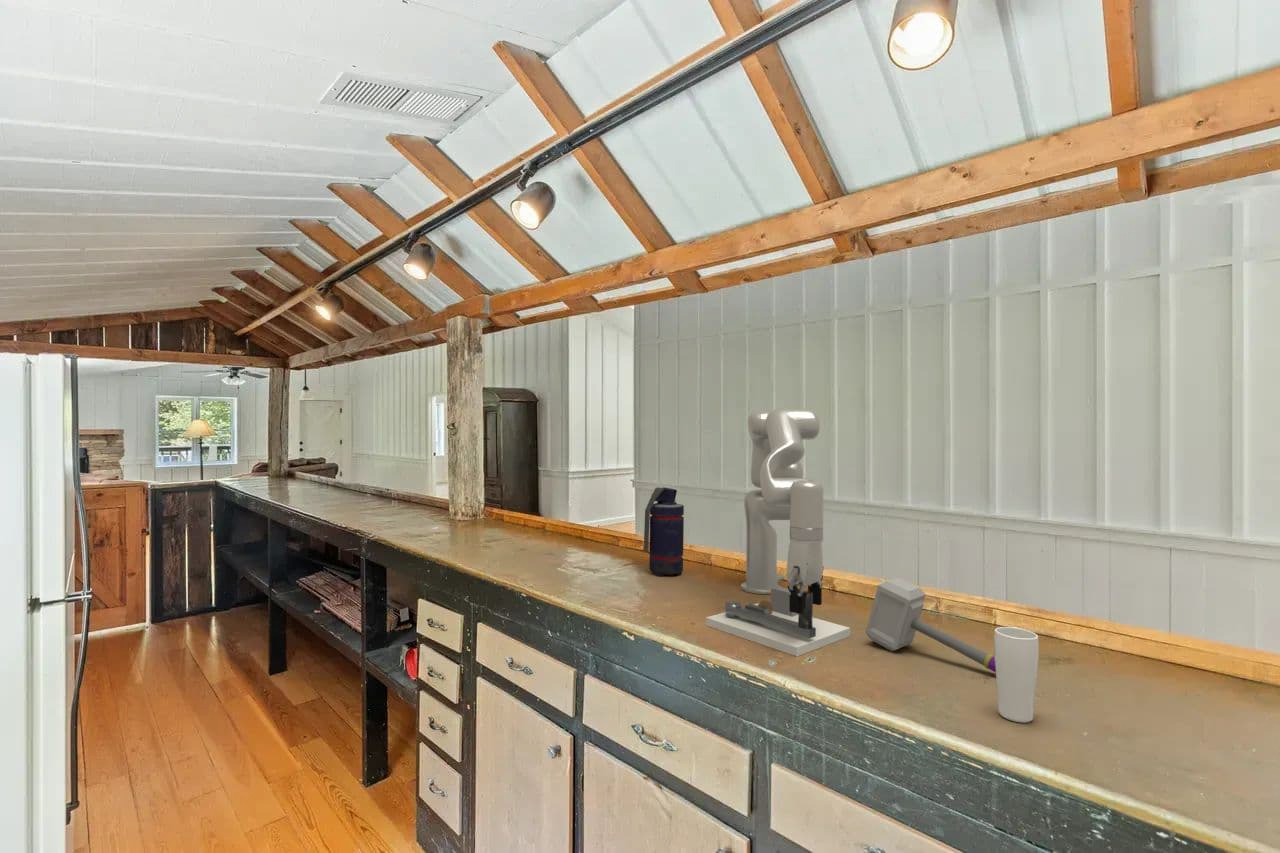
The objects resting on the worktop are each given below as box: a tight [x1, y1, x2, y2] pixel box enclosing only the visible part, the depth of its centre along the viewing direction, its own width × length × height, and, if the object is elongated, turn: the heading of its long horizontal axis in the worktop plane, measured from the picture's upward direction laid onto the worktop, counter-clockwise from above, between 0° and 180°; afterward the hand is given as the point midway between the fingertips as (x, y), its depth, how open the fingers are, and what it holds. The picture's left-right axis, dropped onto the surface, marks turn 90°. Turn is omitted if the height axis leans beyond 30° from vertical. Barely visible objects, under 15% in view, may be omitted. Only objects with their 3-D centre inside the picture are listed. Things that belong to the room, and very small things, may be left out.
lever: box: [725, 589, 816, 639], centre depth 152 cm, size 26×5×10 cm, turn 40°
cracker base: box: [705, 586, 851, 657], centre depth 155 cm, size 28×22×8 cm
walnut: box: [758, 600, 773, 614], centre depth 159 cm, size 4×4×4 cm
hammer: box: [865, 577, 996, 673], centre depth 136 cm, size 15×8×30 cm
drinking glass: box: [993, 626, 1040, 723], centre depth 110 cm, size 7×7×15 cm
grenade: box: [643, 486, 685, 578], centre depth 216 cm, size 14×12×30 cm
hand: (805, 608), depth 143 cm, fingers open, 9 cm apart
